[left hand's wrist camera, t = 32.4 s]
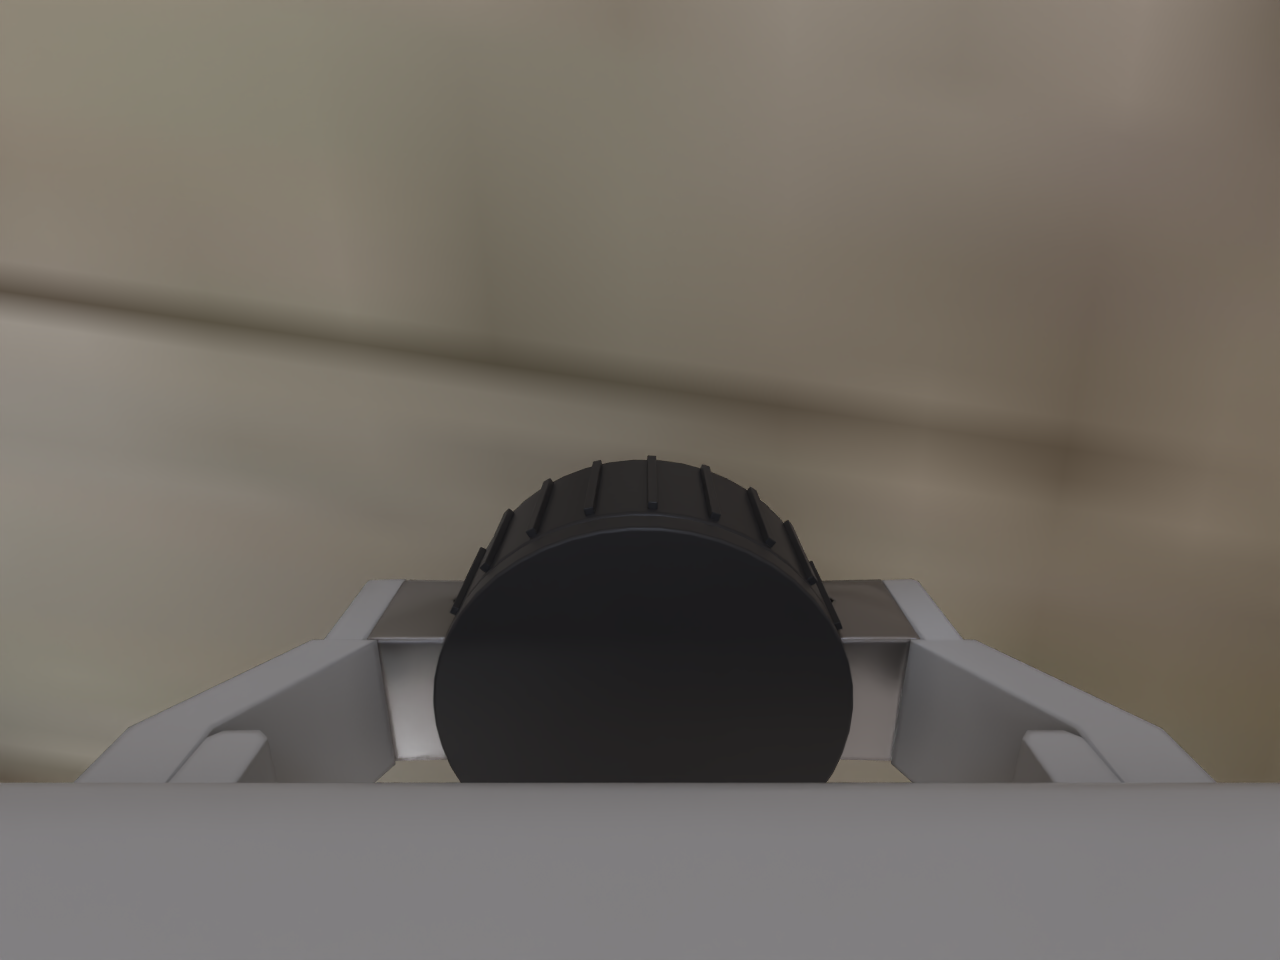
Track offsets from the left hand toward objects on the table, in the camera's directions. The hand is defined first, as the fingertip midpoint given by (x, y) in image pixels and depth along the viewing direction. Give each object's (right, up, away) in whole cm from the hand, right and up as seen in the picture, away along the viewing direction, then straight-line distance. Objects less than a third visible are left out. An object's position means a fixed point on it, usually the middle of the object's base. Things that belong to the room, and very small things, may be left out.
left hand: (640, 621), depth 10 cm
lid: (0, -1, -2) cm, 2 cm away
